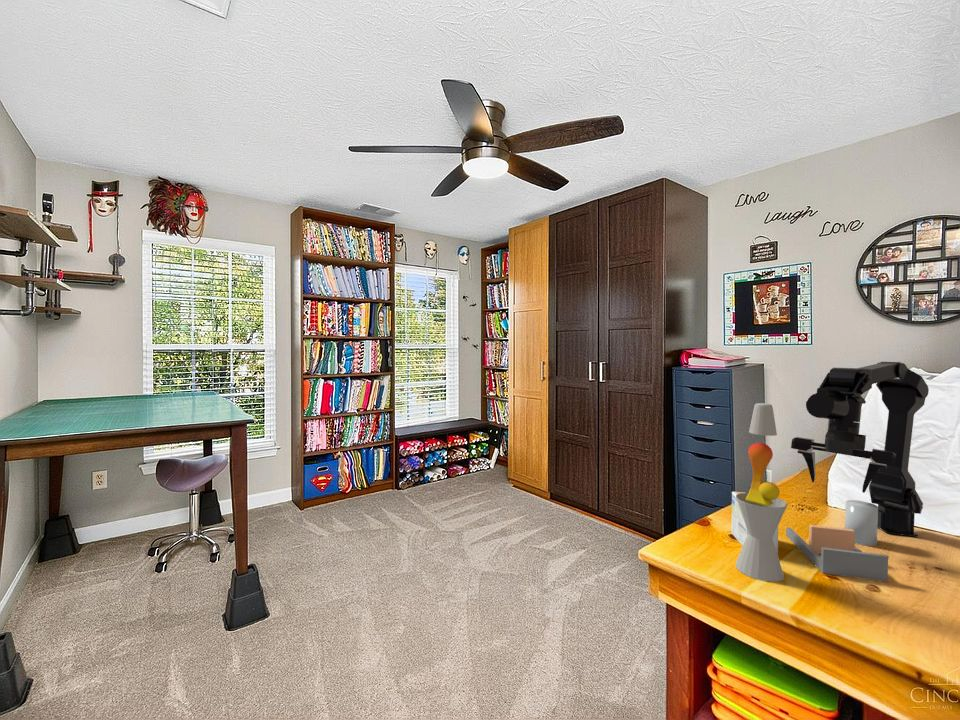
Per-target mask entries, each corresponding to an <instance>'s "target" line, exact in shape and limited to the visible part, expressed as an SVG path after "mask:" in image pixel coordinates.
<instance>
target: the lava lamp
mask: <svg viewBox="0 0 960 720" xmlns="http://www.w3.org/2000/svg"><path fill="white" fill-rule="evenodd" d="M773 408H774V407H773V404H770V403H762V402H760V403H759V402H758V403H755V404H754V405H753V411H752V417H751V422H750V425H749V426H750V427H749V430H748V433H750V434H752V435H758V436H769V437H771V436H775V437H776V436H778V433H777V432H778V431H777V426H776V421H775V413H774V409H773ZM747 451H748V454H747V455H748V457H749V460H750V463H751V468H752V481H751V486H750V489H749V491H748V492H741V493H740V494H737V495H736V498H737V501H738V504H739V507H740V510H741V513H742V516H743V519H744V522H745V525H746V528H747V531H748V535H747V537H746V539H745V542H744V544H743V546H742V547H741V550H740V552H739V555H738V557H737V559H736V563H735V565H736V567H735V569H736V568H737V569H738V570H739V571H738V570H737V569H736V570H737V571H738V572H740V573H741V572H742V573H741V574H743V575H744V574H745V576H747V577H749V578H752V579H755V580H758V579H759V581H764V582H769V583H770V582H772V583H775V582H781V581H783V580H784V579H785V575H784V571H783V569H782V565H781V562H780V558H779V555H778V554H777V552H776V548H775V545H774V542H773V539H772V537H773V535H774V533H775V531H776V529H777V527H778V528H779V525H780V522H781V520H782V517H783V515H784V514H785V511H786V509H787V507H788V503H787V502H786V501H785V500H783V499H781V498H779V496H780V493H781V492H780V488H779V487H778V486H777V484H776V483H773V482H771V481H764V476H765V472H766V469H767V468H768V465H769V464H770V463H771V460H773V456H774V454H773V449H772V448H771V447H770V446H769V445H768V444H766V443H763V442H755V443H753V444H751V445H750V446H749V448H748V450H747ZM735 565H734V566H735Z"/></svg>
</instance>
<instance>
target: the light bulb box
mask: <svg viewBox="0 0 960 720" xmlns="http://www.w3.org/2000/svg"><path fill="white" fill-rule="evenodd" d="M740 493H742V492H741V491H740V492H739V491H731V524H730V525H731V529H730V530H731V531H730V533H731V535H732V536H733V537H734V538H735V539H736V540H737V542H739V544H740V545H741V546H742V547H743V544H744V542H745V539H746V537H747V535H748V531H747V528H746V525H745V522H744V519H743V516H742V513H741V510H740V507H739V504H738V501H737V498H736V495H737V494H740ZM772 539H773V542H774V545H775V548H776V552H777V555H778V554H779V526H778V527H777V529H776V531H775V533H774V535H773V537H772Z"/></svg>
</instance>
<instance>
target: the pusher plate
mask: <svg viewBox="0 0 960 720" xmlns="http://www.w3.org/2000/svg"><path fill="white" fill-rule="evenodd" d="M808 528H809V531H808V545H809V546H810V547H811V548H812V549H813V550H814V551H815V552H817V553H818V554H819V555H821V547H823V548H832V549H840V550H849V551H854V550H855V546H856V543H855V531H854V530H852V529H845V527H844V528H842V527H832V526H825V525H815V524H814V525H813V524H809V527H808Z"/></svg>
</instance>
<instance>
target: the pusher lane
mask: <svg viewBox="0 0 960 720" xmlns="http://www.w3.org/2000/svg"><path fill="white" fill-rule="evenodd" d="M785 536H786V537H787V538H788V539H789V540H790V541H791V542H792V543H793V544H794V545H795V547H797V549H799V550H800V551H801V553H802V554H804V555H805V556H806V558H807V559H809V561H811V563H814V564H815V565H816V566H817V567H818V568H819V569H820V570H819V569H818V568H817V567H816V566H815V565H814V564H813V565H814V566H815V567H816V568H817V569H818V570H819V571H820V572H821V573H822V574H824V575H825V574H827V575H833V576H842V577H851V578H857V579H866V580H871V581H881V582H888V578H889V577H888V574H889V573H888V572H889V556H888V555H886V554H881V553H876V552H875V553H874V552H873V553H872V552H866V551H865V552H864V551H862V550H861V549H859V547H857V546H856V545H855V550H854V551H849V550H840V549H832V548H823V547H821V554H818V553H817V552H815V551H814V550H813V549H812V548H811V547H810V546H809V543H808V542H806V541H805V540H804V539H803V537H801V536H800V535H799V534H798V533H797V532H796V531H795V530H794V529H793V528H792V527H787V526H786V527H785Z"/></svg>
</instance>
